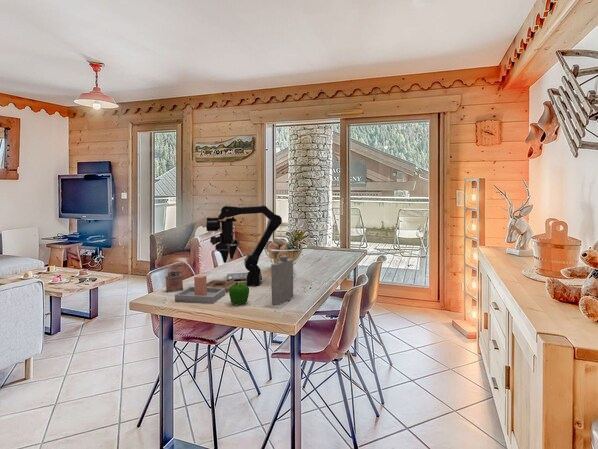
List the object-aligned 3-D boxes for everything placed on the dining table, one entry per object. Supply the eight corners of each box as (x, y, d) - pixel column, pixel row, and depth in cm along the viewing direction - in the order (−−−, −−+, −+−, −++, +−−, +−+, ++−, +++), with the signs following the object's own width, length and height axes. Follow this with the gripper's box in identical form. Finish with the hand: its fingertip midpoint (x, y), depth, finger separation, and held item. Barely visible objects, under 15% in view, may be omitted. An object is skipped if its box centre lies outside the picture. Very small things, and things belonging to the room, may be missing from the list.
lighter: (166, 292, 173) (165, 272, 172) (165, 291, 176) (164, 270, 175) (183, 290, 177) (183, 270, 176) (182, 288, 180) (181, 269, 179)
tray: (225, 294, 170) (225, 288, 170) (213, 303, 156) (213, 296, 156) (189, 292, 173) (189, 286, 173) (174, 301, 159) (174, 295, 159)
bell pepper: (225, 303, 156) (224, 281, 155) (240, 299, 162) (239, 277, 161) (237, 308, 150) (237, 284, 149) (252, 303, 156) (252, 280, 156)
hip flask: (288, 294, 169) (288, 252, 167) (296, 295, 167) (295, 253, 165) (270, 304, 155) (269, 258, 153) (278, 305, 153) (278, 259, 151)
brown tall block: (206, 294, 166) (206, 275, 165) (203, 297, 162) (202, 277, 161) (198, 294, 167) (198, 275, 166) (194, 296, 163) (194, 277, 162)
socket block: (237, 284, 187) (237, 281, 186) (227, 292, 173) (227, 288, 173) (212, 283, 189) (212, 280, 189) (200, 291, 175) (200, 287, 175)
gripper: (219, 228, 193) (220, 257, 194) (204, 232, 174) (205, 264, 176) (239, 228, 191) (240, 257, 192) (226, 232, 173) (227, 264, 174)
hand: (228, 260), depth 184 cm, fingers open, 9 cm apart
